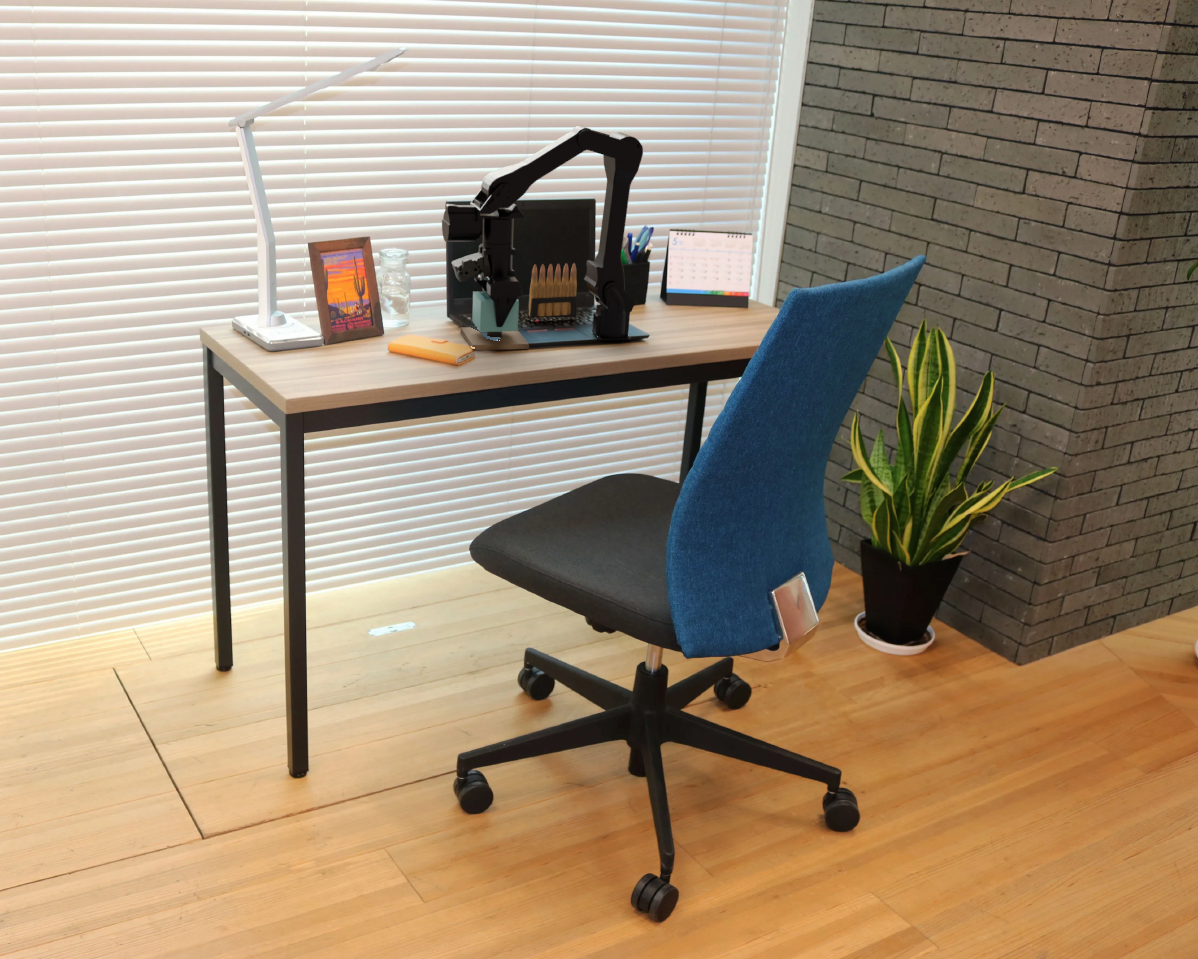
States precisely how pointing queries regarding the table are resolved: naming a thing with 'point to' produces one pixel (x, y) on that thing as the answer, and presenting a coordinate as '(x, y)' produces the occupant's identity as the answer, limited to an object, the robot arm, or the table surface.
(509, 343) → the post base
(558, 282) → the ammunition clip
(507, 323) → the collar
